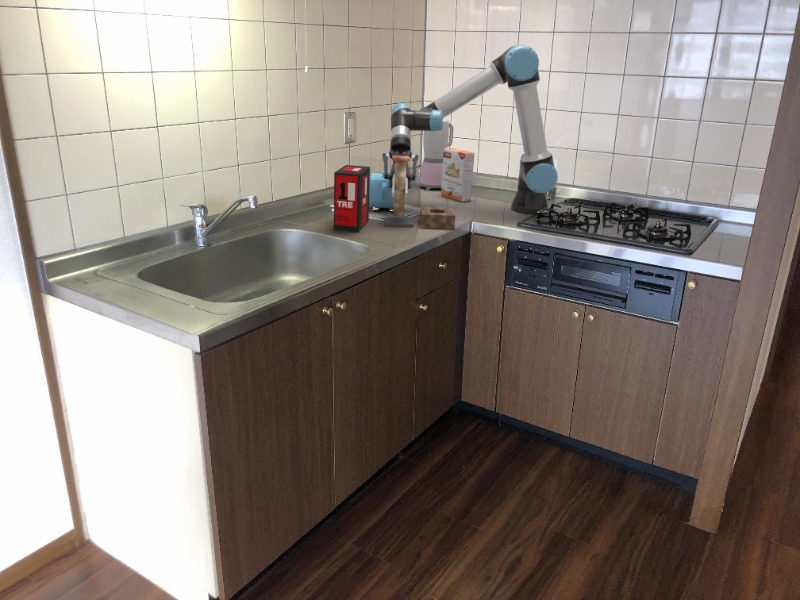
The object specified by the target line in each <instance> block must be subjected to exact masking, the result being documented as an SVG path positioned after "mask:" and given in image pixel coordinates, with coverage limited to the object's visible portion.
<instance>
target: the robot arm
mask: <svg viewBox="0 0 800 600" xmlns="http://www.w3.org/2000/svg"><path fill="white" fill-rule="evenodd" d="M539 59H540V58H539V55H538V53H537V52H536V51H535V50H534V48H532V47H531V46H529V45H526V44H519V45H513V46H511V47H509V48H508V49H506V50H505V51H504V52H502V54H501V55H499V56H498V57H496V58H495V59H494V60H492V61H490V64H489V66H487V67H486V68H484V69H482V70H481V71H479V72H478V73H476V74H475V75H473V76H472V77H470V78H468V79H467V80H465V81H464V82H462V83H461V84H459V85H457V86H456V87H454V88H452V90H450V91H448V92H447V93H445V94H443V95H442V96H441V97H438V98H437V99H436V100H434V101H433V102H431V103H430V104H428V105H427V106H423V107H422V108H421V109H418V110H412V108H411V106H409V104H405V103H396V104H395V105H394V106H393V107H392V109H391V116H390V144H389V145H390V148H389V152H387V153H384V152H383V153H382V157H381V158H382V161H383V171H384V179H388V180H389V188H392V197H394V188H395V177H393V176H394V174H395V161H393V160H392V156H395V155H402V156H409V157H410V159H411V161H412V173H411V172H410V167H409V161H408V162H407V163H406V180H405V198H408V193H409V192H408V191H409V190H410V189H411V187H412V184H411V183H412V182H413V181H416V179H417V163H418V162H419V161H418V160H419V155H418V154H413V153H412V147H411V146H412V144H411V143H412V139H411V138H412V132H416V131H418V132H424V131H440V130H442V126H443V120H444V119H445V118H447V117H448V116H449V115H451V114H454V112H456V111H457V110H459V109H461V108H463V107H465V105H467V104H469V103H471V102H473V101H474V100H476V99H477V98H479V97H481V96H482V95H483V94H485V93H486V92H487V93H488V91H490V90H492V89H493V88H495V87H496V86H498V85H505V84H507V88H508V89H509V90H510V91H512V92H513V99H514V104H515V109H516V115H517V118H518V119H517V120H518V126H519V129H520V136H521V141H522V147H523V148H522V149H523V153H522V154H521V157H520V160H519V163H520V164H519V169H518V170H519V172H518V173H519V174H518V182H517V191H516V192H515V195H514V197H513V199H512V201H511V206H510V209H511V210H512V211H514V212H517V213H522V214H529V215H537V214H536V213H537V212H538V211H540V210H544V209H548V210H549V203H548V197H547V193H548V192H551V190H553V189H554V188H555V186H556V185H557V182H558V179H559V176H558V171H557V169H556V167H555V163H554V158H553V153H552V152H551V151H549V150H548V146H547V141H546V140H547V139H546V136H545V135H546V134H545V129H544V122H543V117H542V111H541V106H540V99H539V93H538V87H537V86H538V84H539V83H540V81H541V79H540V72H539V66H540V60H539ZM389 159H391V160H392V165H391V168H390V171H389V170H388V169H389V167H388V166H389V165H388V163H389ZM388 171H389V172H390V175H389V174H388ZM415 178H416V179H415ZM412 180H413V181H412ZM411 181H412V182H411Z"/></svg>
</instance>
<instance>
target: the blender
mask: <svg viewBox="0 0 800 600" xmlns="http://www.w3.org/2000/svg"><path fill="white" fill-rule="evenodd" d="M422 138H423V139H422V141H423V143H422V145H423V154H424V155H423V156H424V157H423V161H422V162H421V164H420V165H421V166H420V173H419V174H420V175H419V176H420V177H419V188H420V189H422V187H423V188H425V190H426V191H431V189H441V185H442V170H443V154H444V149H445V148H449V147H450V146H452V144H453V139H454V126H453V124H451V123H450V121H449V120H447V119H443V126H442V130H440V131H423V137H422Z"/></svg>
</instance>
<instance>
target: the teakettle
mask: <svg viewBox="0 0 800 600" xmlns="http://www.w3.org/2000/svg"><path fill="white" fill-rule="evenodd" d="M390 172H391V171H389V170H388V174H389V175H390ZM393 177H395V173H394V176H393ZM416 179H417V177H416V178H415V180H416ZM412 182H413V180H412V181H411V183H412ZM393 201H394V197H392V188H389V180H388V179H384V170H383V171H381V173H378V172H377V173H373V172H372V173H371V174H370V189H369V208H373V207H375V208H379V209H382V208H383V209H388V210H393Z"/></svg>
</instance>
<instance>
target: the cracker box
mask: <svg viewBox="0 0 800 600" xmlns="http://www.w3.org/2000/svg"><path fill="white" fill-rule="evenodd" d="M475 154H476V153H475V152H473V151H469V150H465V149H460V148H456V147H455V148H454V147H447V148H445V149H444V154H443V170H442V185H441V188H440V196H441V197H445V198H447V199H450V200H454V201H457V202H459V203H465V202H469V201H470V202H471V199H472V187H473V177H474V163H475Z"/></svg>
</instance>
